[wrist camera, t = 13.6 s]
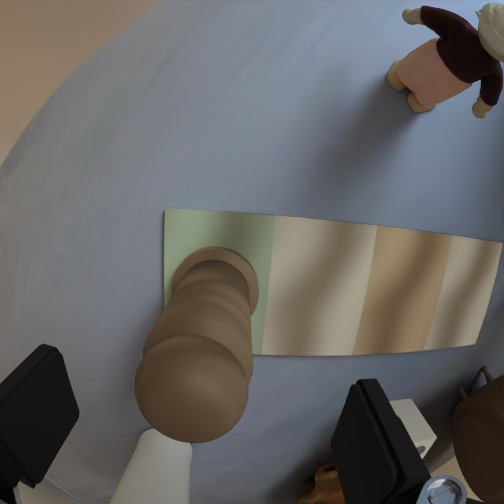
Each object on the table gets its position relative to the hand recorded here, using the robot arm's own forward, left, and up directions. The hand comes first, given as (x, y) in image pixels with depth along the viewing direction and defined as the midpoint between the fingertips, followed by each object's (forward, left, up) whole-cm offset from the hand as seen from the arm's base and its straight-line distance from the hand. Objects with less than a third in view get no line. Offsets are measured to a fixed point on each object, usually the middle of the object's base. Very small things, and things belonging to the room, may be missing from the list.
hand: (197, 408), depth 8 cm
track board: (-10, 0, -12) cm, 16 cm away
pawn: (0, 0, -12) cm, 12 cm away
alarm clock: (-28, +13, -13) cm, 34 cm away
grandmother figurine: (-12, -16, -13) cm, 23 cm away
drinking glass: (+5, +17, -13) cm, 22 cm away
